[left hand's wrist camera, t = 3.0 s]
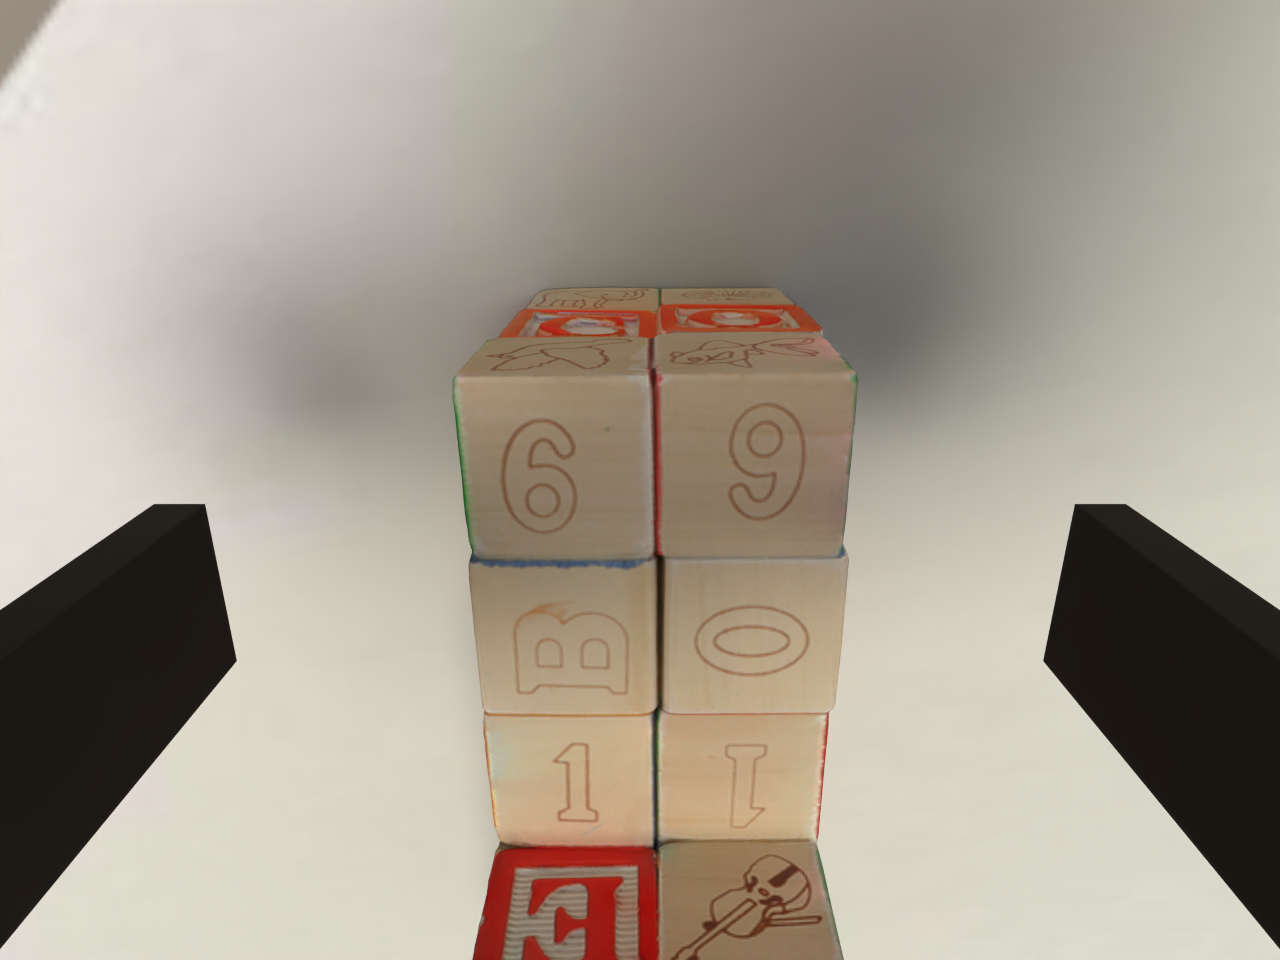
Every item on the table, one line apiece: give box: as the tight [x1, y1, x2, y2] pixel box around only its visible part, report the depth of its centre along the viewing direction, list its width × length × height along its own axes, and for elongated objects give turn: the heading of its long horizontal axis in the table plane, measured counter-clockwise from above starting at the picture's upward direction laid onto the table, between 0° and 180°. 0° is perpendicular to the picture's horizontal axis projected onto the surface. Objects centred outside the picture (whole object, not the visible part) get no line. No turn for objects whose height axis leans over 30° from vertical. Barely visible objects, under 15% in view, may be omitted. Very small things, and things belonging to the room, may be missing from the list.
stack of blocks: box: [453, 288, 858, 960], centre depth 19 cm, size 21×6×12 cm, turn 0°
